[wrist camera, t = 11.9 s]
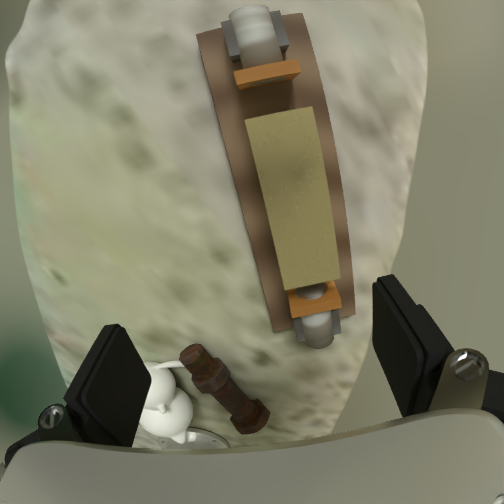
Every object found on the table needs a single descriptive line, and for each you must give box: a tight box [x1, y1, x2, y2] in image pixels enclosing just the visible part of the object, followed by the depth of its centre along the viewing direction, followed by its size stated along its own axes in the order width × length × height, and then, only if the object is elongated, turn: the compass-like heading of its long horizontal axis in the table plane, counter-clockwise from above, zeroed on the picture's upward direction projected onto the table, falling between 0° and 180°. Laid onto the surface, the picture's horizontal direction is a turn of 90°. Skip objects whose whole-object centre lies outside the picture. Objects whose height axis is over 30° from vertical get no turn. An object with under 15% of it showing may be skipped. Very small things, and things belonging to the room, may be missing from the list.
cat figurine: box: [139, 361, 193, 444], centre depth 36 cm, size 9×11×12 cm
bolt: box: [179, 344, 270, 434], centre depth 36 cm, size 6×5×15 cm
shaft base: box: [196, 5, 356, 349], centre depth 25 cm, size 30×9×6 cm, turn 14°
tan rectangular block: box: [245, 106, 341, 290], centre depth 24 cm, size 4×13×6 cm, turn 13°
